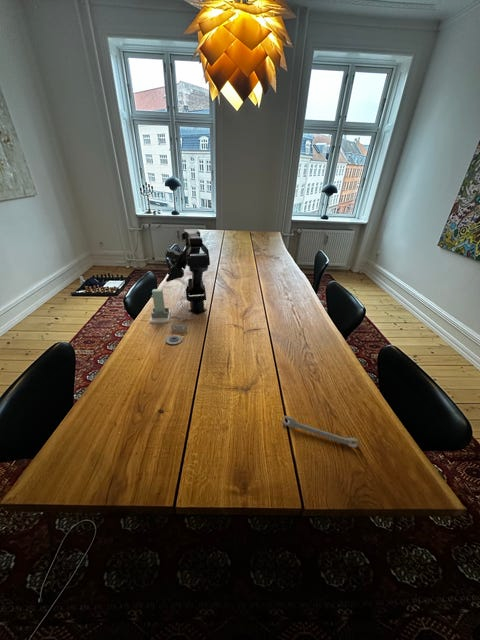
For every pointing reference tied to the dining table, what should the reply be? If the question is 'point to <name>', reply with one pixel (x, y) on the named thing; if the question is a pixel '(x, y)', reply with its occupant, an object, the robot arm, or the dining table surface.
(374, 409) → the dining table surface
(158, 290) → the cabinet door
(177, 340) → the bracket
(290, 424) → the combination wrench
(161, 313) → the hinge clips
